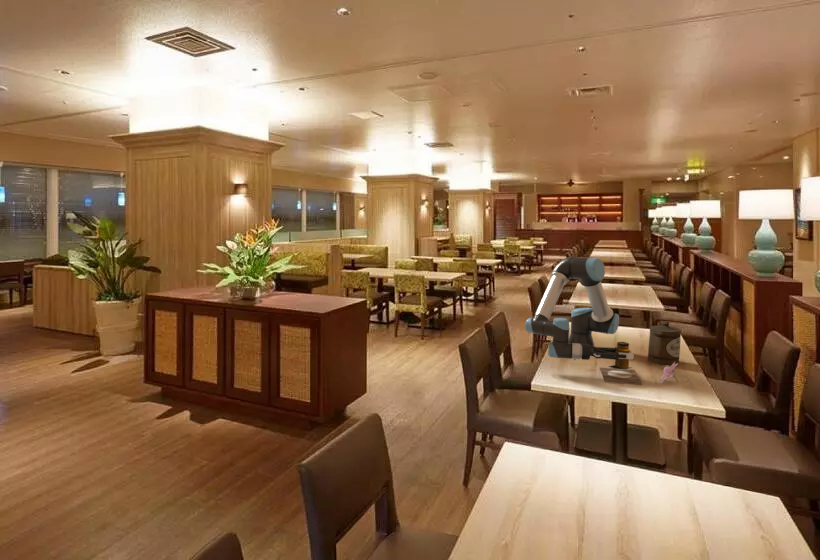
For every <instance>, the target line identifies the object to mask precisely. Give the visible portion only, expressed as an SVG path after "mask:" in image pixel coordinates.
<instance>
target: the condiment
mask: <svg viewBox="0 0 820 560" xmlns="http://www.w3.org/2000/svg"><path fill="white" fill-rule="evenodd" d="M629 350H630V343H629V342H626V341H618V342H616V353H629ZM629 364H630V359H619V360H615V361H614V364H613V365H608V367H607V368H614V369H618V370H625V369H633V367H631V366H630V365H629Z"/></svg>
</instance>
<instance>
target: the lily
mask: <svg viewBox="0 0 820 560" xmlns="http://www.w3.org/2000/svg"><path fill="white" fill-rule="evenodd" d="M678 365H679V364H678V363H677V364H675V362H674V363H673V364H672V365H671V366H664V368H663V371H662V372H663V374H662V375H661V377H660V378H659V380H660V384H662V383H663V382H664V381H665V379H666V378H669V377H671V378H672V377H674V378H675V380H676V381H677V383H678V382H679V380H678V379H677V378H676V376H675V374H674V369H675V368H676V367H677V366H678Z"/></svg>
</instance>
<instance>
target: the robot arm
mask: <svg viewBox="0 0 820 560" xmlns="http://www.w3.org/2000/svg"><path fill="white" fill-rule="evenodd" d="M605 269H606V267H605V264H604V262H603V260H602V259H601V258H598V257H589V256H588V257H584V256H583V257H582V256H568V257H566V258H565V257H564V258H563V259H562V260H560V261H559V262H558V263H557V264H556V265H555V266H554V268H553V269H552V270H551V272H550V275H549V278H550V280H549V282H548V284H547V287H546V288H545V291H544V293H543V296H542V297H541V300H540V301H539V304H538V307H537V309H536V310H535V313H534V315H533V317H528V318H527V319H526V321H525V323H524V328H525V329H524V330H525V331H526V332H527V333H530V334H534V335H541V336H545V337H552V341H549V342H548V347H547V348H548V352H547V353H548V356H549V357H550V358H555V359H571V360H573V361H575V360H584V361H585V360H586V361H588V360H589V361H590V360H591V357H594V358H595V359H602V360H603V359H605V360H619V359H629V360H634V357H635V354H634V353H632V350H631V349H629V353H616V348H617V346H615V347H603V346H602V347H601V346H595V342H594V340H593V333H592V332H595V333H600V334H604V335H605V334H606V335H615V334H616V332H617V331H618V329H619V325H620V315H619V314H618V313H614V311H613V309H612V308H611V307H609V305H608V300H607V297H606V294H605V290H604V287H603V285H602V281H603V279H604V277H605V273H606V271H605ZM570 279H572V280H573V279H574V280H578V281H579V283H580V285H581V286H582V287H584V289H585V292H586V295H587V298H588V302H589V303H590V304H589V305H590V307H579V308H573V309H572V311H571V314H570V315H571V316H570V320H569V319H567V318H566V317H565V318H564V317H555V318H553V321H552V320H550V318H551V316H552V313H553V311H554V309H555V307H556V304H557V302H558V300H559V297H560V296H561V293H562V292H563V291H562V290H563V288H564V286H565V285H566V284H568V282H569V280H570Z"/></svg>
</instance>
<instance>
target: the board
mask: <svg viewBox="0 0 820 560" xmlns="http://www.w3.org/2000/svg"><path fill="white" fill-rule="evenodd" d="M599 372H600V374H601V377H602V379H603V381H604V383H614V384H628V385H640V386H641V385H642V383H643V381H642V380H641V379H640V377H639V376H638V373H637V372H636V370H635V369H633V368H630V369H625V370H618V369H614V368H611V367H603V366H602V367H601V366H600V367H599Z"/></svg>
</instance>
